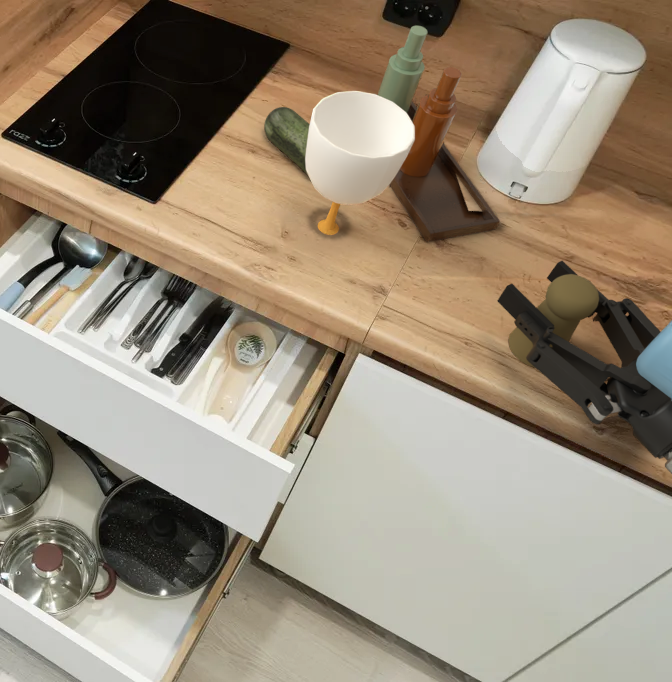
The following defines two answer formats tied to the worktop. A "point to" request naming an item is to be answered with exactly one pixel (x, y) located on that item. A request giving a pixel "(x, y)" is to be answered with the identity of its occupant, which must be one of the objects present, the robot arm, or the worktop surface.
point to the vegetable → (288, 134)
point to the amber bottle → (432, 124)
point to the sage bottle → (404, 70)
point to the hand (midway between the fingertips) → (529, 280)
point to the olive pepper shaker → (560, 311)
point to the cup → (355, 149)
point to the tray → (442, 199)
